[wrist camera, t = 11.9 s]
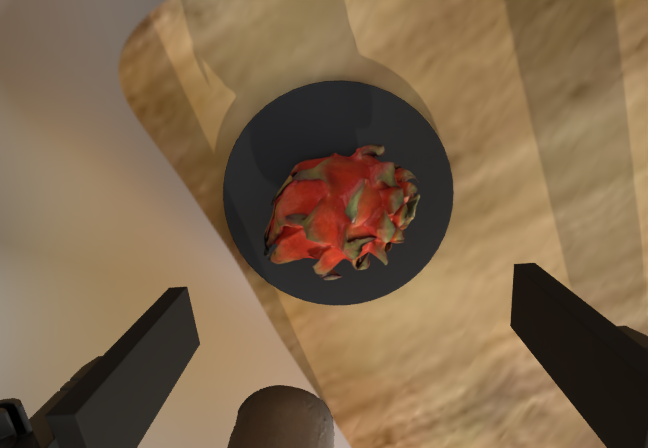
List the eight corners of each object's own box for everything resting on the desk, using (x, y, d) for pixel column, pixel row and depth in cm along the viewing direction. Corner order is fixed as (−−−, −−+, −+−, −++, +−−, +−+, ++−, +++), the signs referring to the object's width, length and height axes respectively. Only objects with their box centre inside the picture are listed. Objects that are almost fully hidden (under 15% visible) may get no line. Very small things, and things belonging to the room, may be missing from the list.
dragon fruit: (417, 169, 29) (290, 225, 33) (379, 88, 23) (227, 169, 26) (454, 259, 24) (299, 314, 28) (420, 187, 18) (224, 271, 21)
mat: (451, 68, 26) (453, 67, 25) (451, 294, 31) (453, 297, 31) (205, 95, 27) (202, 94, 26) (244, 309, 32) (243, 312, 32)
